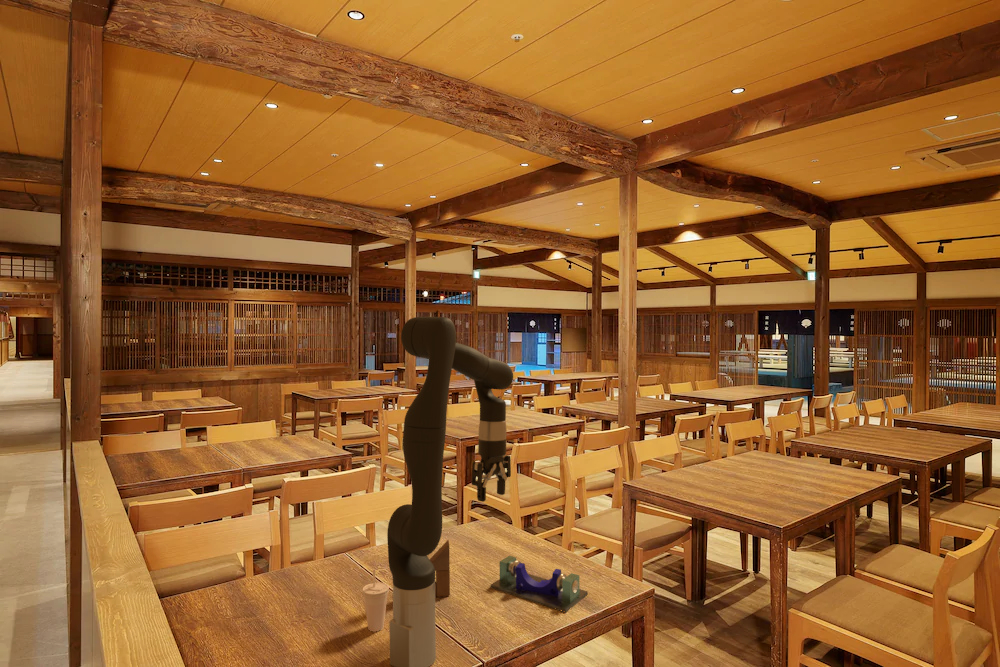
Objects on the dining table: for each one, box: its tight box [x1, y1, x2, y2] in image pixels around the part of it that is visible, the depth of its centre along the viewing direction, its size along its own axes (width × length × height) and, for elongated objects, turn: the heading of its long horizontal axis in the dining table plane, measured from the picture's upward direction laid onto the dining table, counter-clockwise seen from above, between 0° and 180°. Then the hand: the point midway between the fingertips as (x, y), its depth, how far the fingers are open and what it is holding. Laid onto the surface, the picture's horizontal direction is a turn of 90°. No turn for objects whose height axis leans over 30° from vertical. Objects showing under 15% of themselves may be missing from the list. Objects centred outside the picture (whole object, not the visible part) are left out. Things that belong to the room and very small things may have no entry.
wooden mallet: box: [429, 539, 451, 598], centre depth 152 cm, size 4×11×18 cm, turn 99°
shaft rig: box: [490, 555, 589, 613], centre depth 154 cm, size 12×24×6 cm, turn 54°
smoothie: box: [361, 568, 390, 633], centre depth 136 cm, size 6×6×14 cm
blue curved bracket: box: [516, 562, 562, 596], centre depth 154 cm, size 12×4×6 cm, turn 68°
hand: (491, 497), depth 150 cm, fingers open, 8 cm apart
